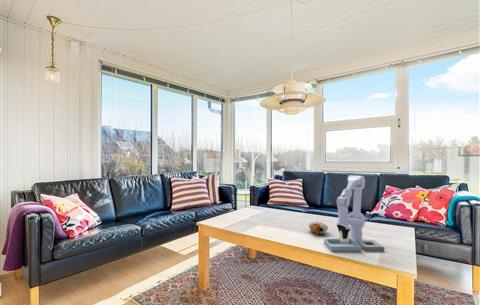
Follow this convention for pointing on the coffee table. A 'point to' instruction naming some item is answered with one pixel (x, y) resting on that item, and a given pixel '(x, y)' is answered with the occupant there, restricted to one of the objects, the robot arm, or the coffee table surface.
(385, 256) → the coffee table surface
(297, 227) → the coffee table surface
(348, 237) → the fuse
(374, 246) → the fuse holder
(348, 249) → the tray
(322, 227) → the nautilus
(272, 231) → the coffee table surface
